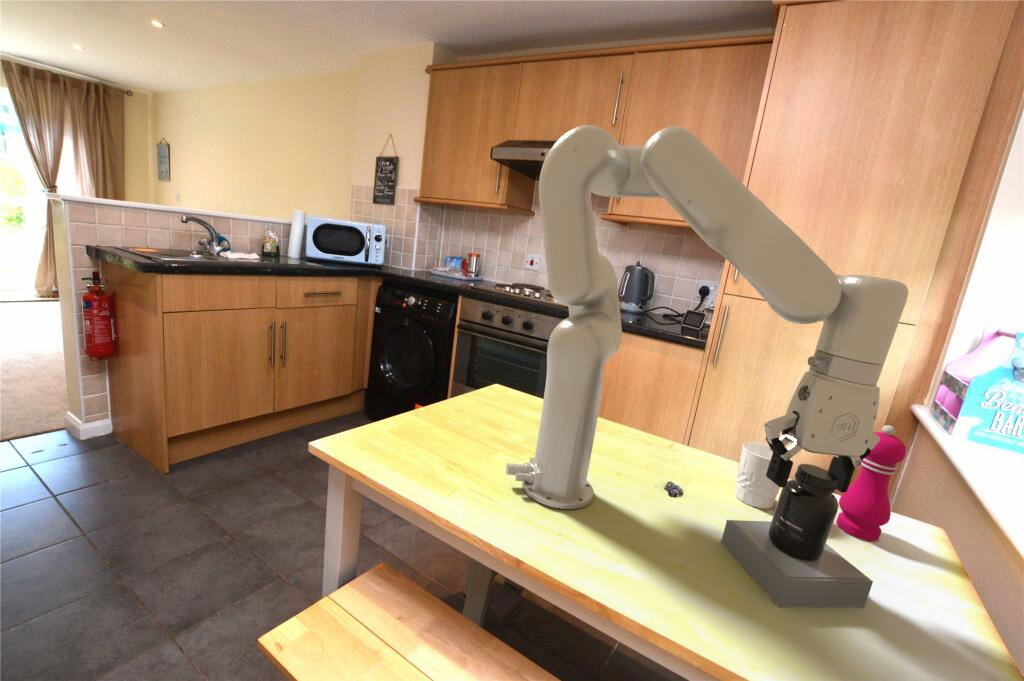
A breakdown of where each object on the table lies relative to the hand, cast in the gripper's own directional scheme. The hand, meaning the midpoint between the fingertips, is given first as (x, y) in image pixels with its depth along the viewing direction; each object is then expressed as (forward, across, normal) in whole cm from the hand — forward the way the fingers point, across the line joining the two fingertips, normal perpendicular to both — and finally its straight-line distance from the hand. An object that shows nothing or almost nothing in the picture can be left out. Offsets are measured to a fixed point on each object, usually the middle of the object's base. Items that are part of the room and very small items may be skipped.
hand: (805, 484), depth 65 cm
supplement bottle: (+10, +1, 0) cm, 10 cm away
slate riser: (+14, +1, -1) cm, 14 cm away
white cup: (+14, +10, +19) cm, 26 cm away
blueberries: (+15, -6, +22) cm, 27 cm away
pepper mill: (+14, +24, +10) cm, 29 cm away
